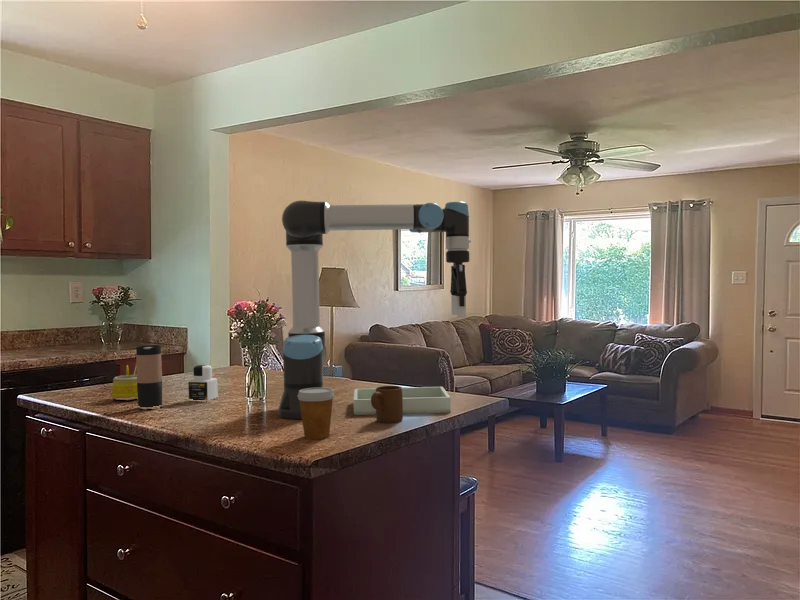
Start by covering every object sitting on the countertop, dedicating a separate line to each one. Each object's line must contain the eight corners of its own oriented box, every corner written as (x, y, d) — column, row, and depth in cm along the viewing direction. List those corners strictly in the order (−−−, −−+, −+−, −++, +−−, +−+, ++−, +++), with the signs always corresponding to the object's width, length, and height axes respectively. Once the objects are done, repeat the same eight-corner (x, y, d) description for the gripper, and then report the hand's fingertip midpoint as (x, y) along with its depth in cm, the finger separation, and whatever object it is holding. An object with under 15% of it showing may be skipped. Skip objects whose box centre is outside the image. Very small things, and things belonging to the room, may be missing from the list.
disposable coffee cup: (340, 433, 171) (339, 387, 170) (327, 441, 161) (326, 393, 161) (306, 431, 173) (305, 386, 173) (292, 440, 164) (291, 392, 163)
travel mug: (152, 405, 215) (150, 344, 215) (168, 407, 211) (166, 345, 211) (132, 409, 209) (130, 347, 208) (148, 411, 205) (146, 347, 204)
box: (353, 414, 194) (353, 399, 193) (355, 402, 214) (354, 388, 213) (450, 412, 195) (450, 397, 195) (442, 400, 215) (442, 386, 215)
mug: (384, 427, 176) (383, 393, 176) (361, 424, 180) (360, 391, 180) (408, 419, 186) (407, 386, 186) (386, 416, 190) (385, 384, 190)
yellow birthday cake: (134, 402, 221) (133, 367, 221) (105, 402, 223) (104, 367, 223) (154, 395, 234) (153, 362, 234) (126, 395, 236) (125, 362, 235)
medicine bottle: (188, 401, 220) (187, 366, 220) (199, 398, 227) (198, 363, 227) (207, 402, 218) (206, 366, 218) (218, 398, 225) (217, 364, 225)
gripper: (475, 248, 198) (476, 317, 198) (463, 251, 223) (464, 313, 223) (451, 248, 198) (452, 318, 198) (441, 252, 222) (442, 314, 223)
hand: (458, 316), depth 211 cm, fingers open, 13 cm apart
